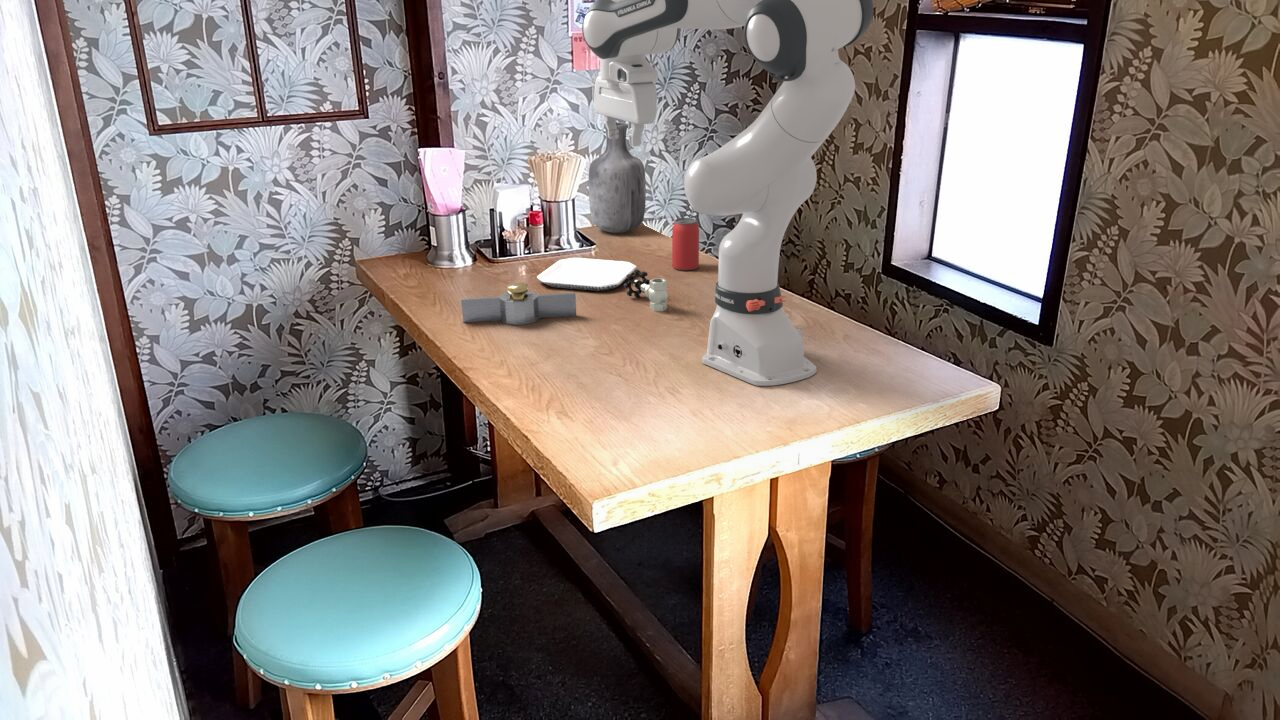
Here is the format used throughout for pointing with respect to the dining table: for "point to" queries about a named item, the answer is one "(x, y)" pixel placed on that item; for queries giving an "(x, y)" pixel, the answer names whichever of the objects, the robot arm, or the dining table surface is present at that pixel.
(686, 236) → the beer can
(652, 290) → the valve
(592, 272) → the plate
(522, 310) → the hinge
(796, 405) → the dining table surface
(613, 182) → the vase
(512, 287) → the hinge pin
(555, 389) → the dining table surface
